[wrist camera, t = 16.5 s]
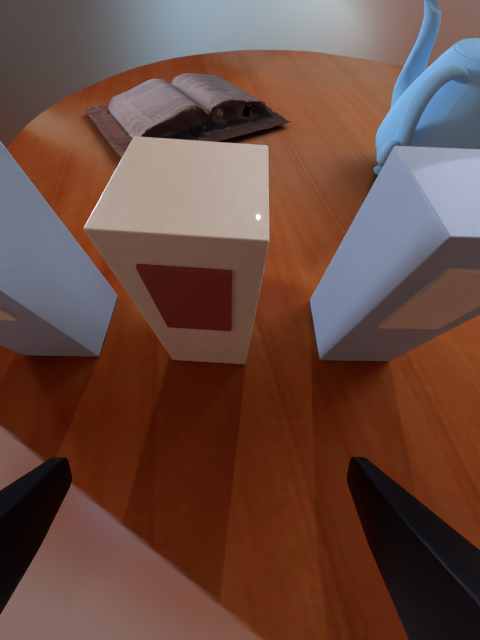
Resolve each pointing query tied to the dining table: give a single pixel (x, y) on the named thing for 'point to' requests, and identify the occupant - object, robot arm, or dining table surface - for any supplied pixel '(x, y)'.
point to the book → (181, 112)
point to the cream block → (189, 241)
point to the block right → (404, 259)
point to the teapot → (434, 96)
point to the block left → (45, 277)
